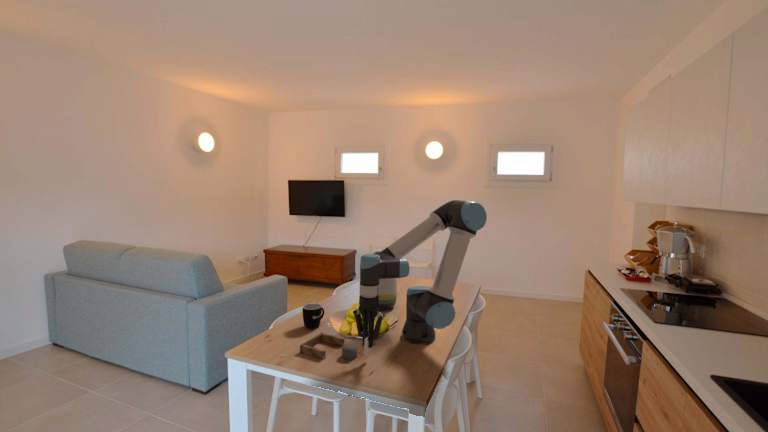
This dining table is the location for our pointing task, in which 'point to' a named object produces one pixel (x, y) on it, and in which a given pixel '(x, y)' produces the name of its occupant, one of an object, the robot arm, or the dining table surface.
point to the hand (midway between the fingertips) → (367, 354)
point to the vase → (387, 293)
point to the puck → (349, 352)
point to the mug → (312, 315)
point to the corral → (308, 345)
